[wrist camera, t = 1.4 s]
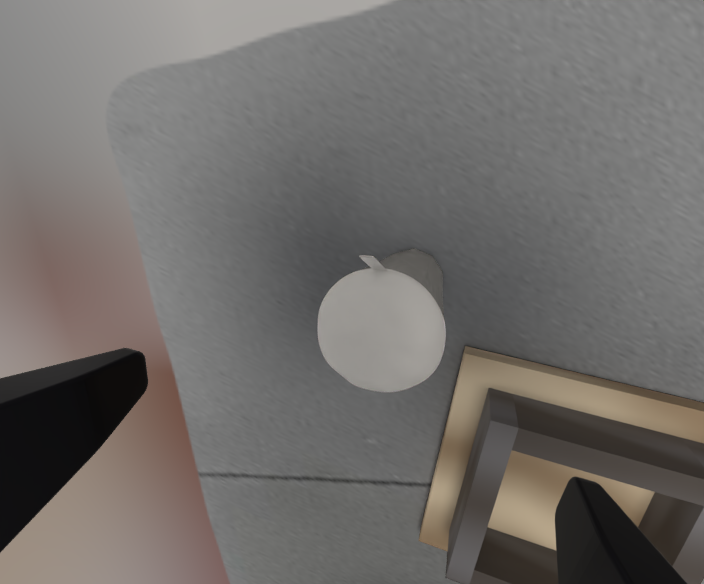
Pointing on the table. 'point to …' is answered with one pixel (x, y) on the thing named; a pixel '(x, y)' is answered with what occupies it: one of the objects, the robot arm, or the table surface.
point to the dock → (559, 467)
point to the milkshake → (385, 322)
